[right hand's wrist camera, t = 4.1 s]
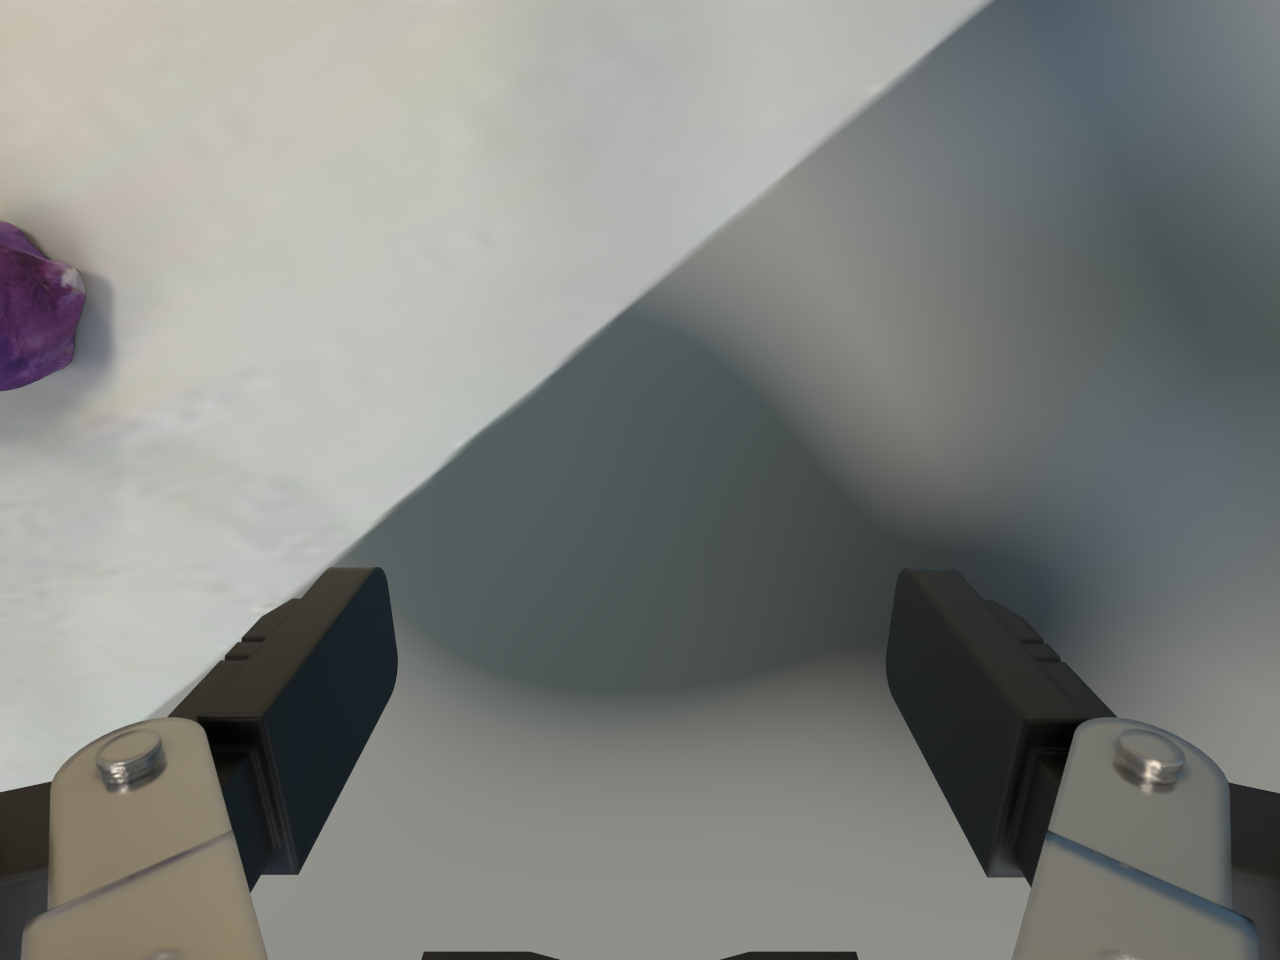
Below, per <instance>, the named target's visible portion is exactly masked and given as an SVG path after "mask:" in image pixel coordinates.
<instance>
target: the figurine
mask: <svg viewBox="0 0 1280 960" xmlns="http://www.w3.org/2000/svg"><path fill="white" fill-rule="evenodd" d="M85 298H86V289H85V285H84V281H83V278H82V275H81V273H80V272H79V270H78V269H77V268H75V267H74V266H73V265H72V264H70V263H68V262H63V261H54V260H49V259H47V258H46V257H45V256H44V255H43V254H42V253H41V252H40V251H39V250H37V249H36V248H35V247H34V245H33V244H32V243H30V241H29V240H28V239H27V238H26V237H25V235H24V234H23V233H22V232H21V231H20V230H19V229H18V228H16V227H15V226H13V225H11V224H9V223H6V222H0V391H7V390H12V389H16V388H20V387H23V386H26V385H28V384H30V383H33V382H35V381H38V380H40V379H42V378H44V377H45V376H48V375H50V374H52V373H54V372H56V371H59V370H61V369H63V368H65V367H66V366H67V365H68V364H69V363H70V362H71V361H72V358H73V353H74V348H75V346H74V342H73V339H74V335H75V330H76V327H77V325H78V322H79V319H80V315H81V312H82V308H83V305H84V302H85Z"/></svg>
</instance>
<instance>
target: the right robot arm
mask: <svg viewBox="0 0 1280 960" xmlns="http://www.w3.org/2000/svg"><path fill="white" fill-rule="evenodd" d="M397 667H398V656H397V647H396V640H395V633H394V626H393V619H392V611H391V604H390V597H389V590H388V583H387V579H386V575H385V573H384V571H383V570H382V569H381V568H379V567H330V568H328V569H327V570H326V571H325V572H324V573H323V574H322V575H321V576H320V578H319V579H318V580H317V581H316V582H315V583H314V584H313V586H312V587H311V588H310V589H309V590H308V591H307V592H306V593H305V595H304V596H303V597H302V598H301V599H291V600H289V601H288V602H286V603H284V604H283V605H281V606H279V607H277V608H276V609H274V610H272V611H271V612H269V613H267V614H266V615H264V616H262V617H261V618H260V619H259V620H258V621H257V622H256V623H255V624H254V626H253V627H252V628H251V629H250V630H249V631H248V632H247V633H246V634H245V635H244V636H243V637H242V642H238V643H237V644H236V645H235V646H234V647H233V648H232V649H231V650H230V651H229V652H228V653H227V654H226V655H225V660H221V661H220V662H219V663H218V664H217V665H216V666H215V667H214V668H213V669H212V670H211V671H210V672H209V673H208V674H207V675H206V676H205V678H204V679H203V680H202V681H201V682H200V683H199V684H198V685H197V686H196V687H195V688H194V689H193V690H192V691H191V692H190V693H189V695H188V696H187V697H186V698H185V699H184V700H183V701H182V702H181V703H180V704H179V705H178V706H177V707H176V708H175V709H174V710H173V712H172V713H171V714H170V715H169V716H168V717H166V718H157V719H150V720H146V721H141V722H138V723H134V724H131V725H128V726H125V727H122V728H120V729H117V730H114V731H112V732H110V733H108V734H106V735H104V736H102V737H100V738H98V739H96V740H94V741H93V742H91V743H89V744H88V745H86V746H85V747H83V748H82V749H80V750H79V751H78V752H77V753H75V754H74V755H73V756H72V757H70V758H69V759H68V760H67V761H66V762H65V763H64V764H63V765H62V766H61V768H60V769H59V770H58V772H57V773H56V775H55V777H54V779H53V781H52V782H47V783H42V784H38V785H33V786H28V787H23V788H19V789H14V790H9V791H5V792H0V960H268V957H267V953H266V949H265V946H264V942H263V938H262V935H261V931H260V928H259V924H258V920H257V917H256V913H255V909H254V906H253V902H252V898H251V895H250V893H251V891H252V889H253V888H254V886H255V884H256V882H257V881H258V879H259V877H260V875H298V874H299V872H300V870H301V868H302V866H303V865H304V863H305V861H306V859H307V857H308V855H309V853H310V851H311V849H312V847H313V845H314V843H315V841H316V839H317V838H318V836H319V834H320V832H321V830H322V828H323V826H324V824H325V822H326V820H327V818H328V816H329V814H330V812H331V811H332V808H333V807H334V805H335V803H336V801H337V799H338V797H339V795H340V793H341V791H342V789H343V787H344V785H345V783H346V782H347V780H348V778H349V776H350V774H351V772H352V770H353V768H354V766H355V764H356V762H357V760H358V758H359V757H360V755H361V753H362V751H363V749H364V747H365V745H366V743H367V741H368V739H369V737H370V735H371V733H372V731H373V730H374V727H375V726H376V724H377V722H378V720H379V718H380V716H381V714H382V712H383V710H384V708H385V706H386V704H387V703H388V701H389V699H390V697H391V695H392V692H393V689H394V686H395V682H396V676H397ZM886 672H887V679H888V684H889V688H890V691H891V694H892V696H893V699H894V700H895V702H896V704H897V706H898V708H899V710H900V712H901V714H902V716H903V718H904V719H905V721H906V723H907V725H908V727H909V729H910V731H911V733H912V735H913V737H914V738H915V740H916V742H917V744H918V746H919V748H920V750H921V752H922V754H923V756H924V758H925V759H926V761H927V763H928V765H929V767H930V769H931V771H932V773H933V775H934V777H935V779H936V780H937V782H938V784H939V786H940V788H941V790H942V792H943V794H944V796H945V798H946V799H947V801H948V803H949V805H950V807H951V809H952V811H953V813H954V815H955V817H956V819H957V820H958V822H959V824H960V826H961V828H962V830H963V832H964V834H965V836H966V837H967V839H968V841H969V843H970V845H971V847H972V849H973V851H974V853H975V855H976V857H977V859H978V860H979V862H980V864H981V866H982V868H983V870H984V872H985V874H986V876H987V877H1025V878H1026V880H1027V882H1028V883H1029V885H1030V887H1031V891H1030V895H1029V898H1028V902H1027V906H1026V909H1025V913H1024V917H1023V920H1022V924H1021V928H1020V931H1019V935H1018V938H1017V942H1016V946H1015V949H1014V953H1013V957H1012V960H1280V794H1279V793H1275V792H1270V791H1265V790H1261V789H1256V788H1251V787H1247V786H1242V785H1237V784H1233V783H1229V782H1228V781H1227V779H1226V777H1225V775H1224V773H1223V772H1222V770H1221V769H1220V768H1219V766H1218V765H1217V764H1216V763H1215V762H1214V761H1213V760H1212V759H1211V758H1210V757H1208V756H1207V755H1206V754H1205V753H1203V752H1202V751H1201V750H1200V749H1198V748H1197V747H1195V746H1194V745H1192V744H1191V743H1189V742H1187V741H1186V740H1184V739H1182V738H1180V737H1178V736H1176V735H1174V734H1172V733H1170V732H1168V731H1166V730H1163V729H1160V728H1158V727H1155V726H1152V725H1149V724H1146V723H1142V722H1139V721H1134V720H1129V719H1123V718H1117V716H1116V715H1115V714H1114V713H1113V712H1112V711H1111V710H1110V709H1109V708H1108V707H1107V706H1106V705H1105V704H1104V703H1103V702H1102V701H1101V700H1100V699H1099V698H1098V697H1097V695H1096V694H1095V693H1094V692H1093V691H1092V690H1091V689H1090V688H1089V687H1088V686H1087V685H1086V684H1085V683H1084V682H1083V681H1082V680H1081V679H1080V678H1079V677H1078V675H1077V674H1076V673H1075V672H1074V671H1073V670H1072V669H1071V668H1070V667H1069V666H1068V665H1067V664H1066V663H1065V662H1061V661H1060V657H1059V655H1058V654H1057V653H1056V652H1055V651H1054V650H1053V649H1052V648H1051V647H1050V646H1049V645H1048V644H1044V643H1043V639H1042V638H1041V637H1040V636H1039V634H1038V633H1037V632H1036V631H1035V630H1034V629H1033V628H1032V627H1031V626H1030V625H1029V624H1028V623H1027V622H1026V621H1025V620H1024V619H1023V618H1022V617H1020V616H1018V615H1017V614H1015V613H1013V612H1012V611H1010V610H1008V609H1007V608H1005V607H1003V606H1001V605H1000V604H998V603H996V602H995V601H993V600H983V598H982V597H981V596H980V595H979V594H978V593H977V592H976V591H975V590H974V588H973V587H972V586H971V585H970V584H969V583H968V582H967V581H966V579H965V578H964V577H963V576H962V575H961V574H960V573H959V572H958V571H957V570H956V569H953V568H905V569H903V570H902V571H901V572H900V574H899V576H898V579H897V584H896V590H895V597H894V604H893V611H892V618H891V626H890V632H889V639H888V646H887V654H886ZM422 960H559V959H555V958H551V957H548V956H544V955H540V954H537V953H533V952H424V953H423V957H422ZM721 960H858V957H857V953H856V952H747V953H743V954H740V955H736V956H733V957H729V958H725V959H721Z"/></svg>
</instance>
